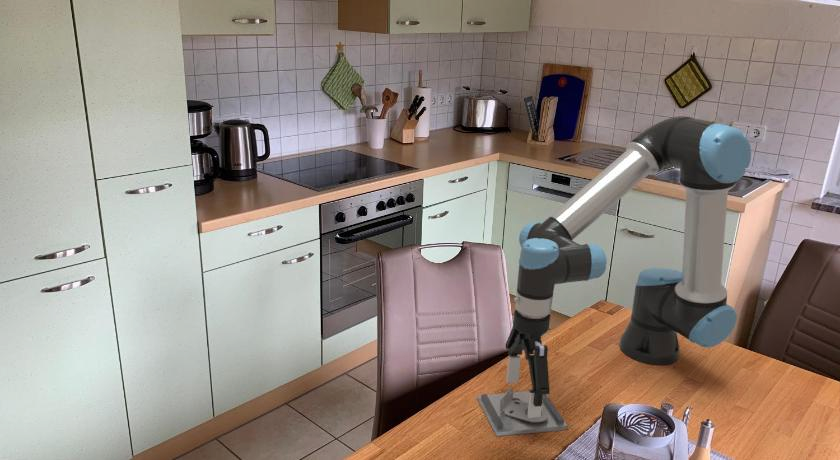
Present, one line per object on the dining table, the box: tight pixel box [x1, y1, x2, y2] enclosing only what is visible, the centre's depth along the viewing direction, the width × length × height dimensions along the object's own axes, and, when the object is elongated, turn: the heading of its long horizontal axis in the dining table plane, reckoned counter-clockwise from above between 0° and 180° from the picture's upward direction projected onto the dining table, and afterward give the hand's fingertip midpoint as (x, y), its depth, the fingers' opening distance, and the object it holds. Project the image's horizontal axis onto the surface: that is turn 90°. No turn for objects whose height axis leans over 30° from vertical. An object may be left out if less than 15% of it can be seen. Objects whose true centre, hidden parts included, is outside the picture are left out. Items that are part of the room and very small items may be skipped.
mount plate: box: [477, 390, 569, 437], centre depth 144 cm, size 16×14×2 cm
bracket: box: [500, 386, 549, 422], centre depth 143 cm, size 7×10×3 cm, turn 59°
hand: (522, 398), depth 143 cm, fingers open, 13 cm apart
